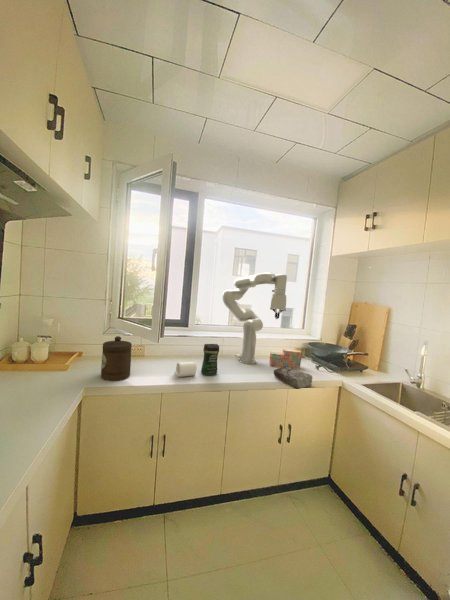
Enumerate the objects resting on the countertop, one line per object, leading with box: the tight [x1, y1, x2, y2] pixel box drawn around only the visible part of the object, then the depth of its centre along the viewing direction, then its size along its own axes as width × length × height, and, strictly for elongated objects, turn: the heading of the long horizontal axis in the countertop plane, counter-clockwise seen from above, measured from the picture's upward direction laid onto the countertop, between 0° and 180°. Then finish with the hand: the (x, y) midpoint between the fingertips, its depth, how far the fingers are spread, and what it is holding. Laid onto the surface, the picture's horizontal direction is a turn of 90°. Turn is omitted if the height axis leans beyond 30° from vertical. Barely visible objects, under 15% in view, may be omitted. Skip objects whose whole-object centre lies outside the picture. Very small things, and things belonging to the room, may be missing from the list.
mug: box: [175, 361, 197, 378], centre depth 153 cm, size 12×10×8 cm
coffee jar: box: [200, 343, 220, 376], centre depth 157 cm, size 10×8×19 cm
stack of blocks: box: [268, 348, 303, 370], centre depth 187 cm, size 21×6×12 cm, turn 89°
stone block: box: [273, 367, 313, 390], centre depth 157 cm, size 13×7×20 cm
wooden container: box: [100, 335, 132, 382], centre depth 140 cm, size 15×15×22 cm
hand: (276, 318), depth 176 cm, fingers closed
